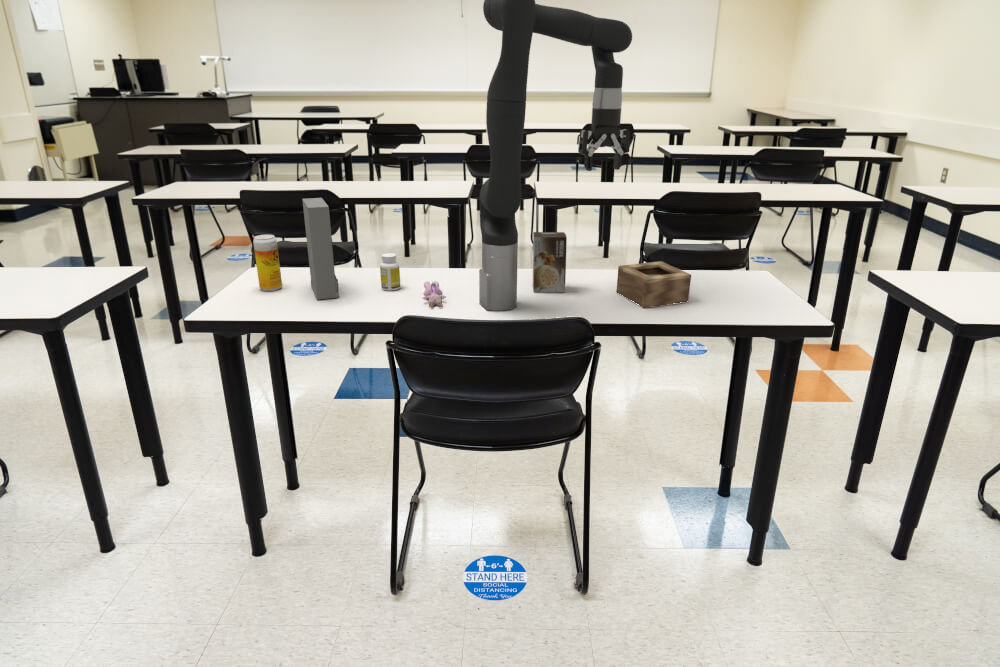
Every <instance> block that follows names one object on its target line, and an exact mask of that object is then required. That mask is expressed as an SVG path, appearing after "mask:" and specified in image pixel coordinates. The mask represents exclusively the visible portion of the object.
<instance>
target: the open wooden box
mask: <svg viewBox="0 0 1000 667" xmlns="http://www.w3.org/2000/svg"><path fill="white" fill-rule="evenodd" d="M617 269H618V270H617V279H616V292H617V293H616V294H618V293H619V294H618V295H620V294H621V295H620V296H622V295H623V296H624V297H623V296H622V297H623V298H625V297H626V298H625V299H627V298H628V299H630V300H632V301H634V302H635V303H637V304H639V305H640V306H642V307H650V308H652V307H651V306H657V307H661V306H660V305H665V306H668V305H667V304H672V305H674V304H673V303H680V302H687V301H688V302H689V297H690V291H691V290H690V289H691V281H692V274H690V273H688V272H686V271H684V270H682V269H680V268H678V267H675V266H672V265H670V264H668V263H666V262H664V261H662V260H661V261H652V262H651V261H650V262H641V263H631V264H623V265H618V267H617ZM650 274H660V275H657V276H647V275H650ZM628 299H627V300H628ZM630 300H629V301H630ZM632 301H631V302H632ZM634 302H633V303H634ZM688 302H687V303H688ZM635 303H634V304H635ZM637 304H636V305H637ZM680 304H681V303H680ZM639 305H638V306H639ZM640 306H639V307H640ZM642 307H641V308H642Z"/></svg>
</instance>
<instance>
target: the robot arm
mask: <svg viewBox="0 0 1000 667" xmlns="http://www.w3.org/2000/svg"><path fill="white" fill-rule="evenodd" d="M482 10H483V15H484V19H485V22H487V24H488V25H489V26H490V27H492V28H493V29H494V30H497V31H500V32H502V34H501V35H502V36H501V49H500V55H499V60H498V63H497V64H496V68H495V70H494V72H493V75H492V77H491V80H490V82H489V85H488V89H487V94H486V96H487V97H486V111H485V112H486V113H485V115H486V118H485V120H486V121H485V122H486V132H487V139H488V146H489V153H490V168H489V176H488V177H489V178H488V179H486V180H485V181H484V183H483V184H482V185H481V188H480V190H479V226H480V232H481V233H480V234H481V268H479V270H478V272H479V277H478V278H479V280H478V281H479V284H478V285H479V289H478V290H479V292H478V293H479V300H478V301H479V302H478V303H479V304H480V305H481V306H482V307H483V309H485V310H486V311H509V310H512V309H514V308H515V309H516V307H517V306H518V305H517V302H518V297H517V296H518V251H519V250H518V248H519V247H518V245H519V244H518V243H519V231H518V228H517V224H516V213H517V212H518V210H519V209H520V207H521V203H522V181H521V180H522V179H521V178H522V176H521V175H522V173H521V163H522V162H521V159H522V158H521V157H522V150H523V143H524V142H523V141H524V131H525V122H526V110H527V109H526V108H527V89H528V86H527V85H528V75H529V64H530V63H529V62H530V54H531V53H530V52H531V46H532V40H533V34H537V35H542V36H547V37H550V38H553V39H557V40H560V41H564V42H567V43H570V44H574V45H579V46H583V47H591V53H592V60H593V65H594V69H595V73H594V74H595V75H594V76H595V77H594V90H593V94H592V96H593V97H592V103H591V104H592V108H591V110H592V111H591V129H590V130H585V129H581V130H580V132H579V139H578V140H579V141H578V150H577V151H578V153H579V154H580V155H583V156H584V164H583V165H584V166H583V167H584V169H585V170H586V171H588V172H592V171H593V170H592V169H593V159H594V158H593V155H594V153H595V152H596V151H597V150H598V149H599V148H606V147H608V148H611V149H612V150H613V152H614V155H613V169H614V170H616V171H618V170H621V169H620V168H621V167H622V165H623V164H622V162H623V160H622V159H623V155H624V154H626V153H627V154H628V153H629V152H630V139H631V131H630V129H626V128H623V129H620V125H621V121H622V120H621V117H622V105H623V104H622V103H623V78H624V68H623V65H622V64H619V63H617V62H616V61H615V57H614V56H615V55H614V54H615V53H616V54H617V53H618V54H619V53H622V52H624V51H626V50H627V49H628V48H629V47H630V45H631V44H632V42H633V41H632V40H633V32H632V29H631V28H630V26H629V25H628V24H627V23H626V22H624V21H621V20H617V19H613V18H604V17H597V16H594V15H592V14H588V13H585V12H582V11H578V10H575V9H569V8H564V7H557V6H549V5H544V4H543V5H542V4H539V3H536V0H483V6H482ZM619 137H620V142H619V141H618V139H619ZM590 138H591V140H590ZM588 140H590V142H589V143H588Z"/></svg>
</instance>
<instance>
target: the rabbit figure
mask: <svg viewBox="0 0 1000 667" xmlns="http://www.w3.org/2000/svg"><path fill="white" fill-rule="evenodd" d="M423 288H425V290H424V291H423V296H422V299H423V300H426V299H428V301H427V302H428V306H430V307H429V308H430V309H431V310H432V308H433V309H435V308H434V307H435V306H437V307H438V308H443V305H442V304H443V300H442V298H444V299H446V298H447V297H446V295H443V291H442V289H441V288H440V283H439V282H438V280H434V281H432V282H430V281H428V280H427V281H424V283H423Z"/></svg>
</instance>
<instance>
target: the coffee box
mask: <svg viewBox="0 0 1000 667" xmlns="http://www.w3.org/2000/svg"><path fill="white" fill-rule="evenodd" d="M532 235H533V239H532V244H533V246H532V292H533V293H557V294H558V293H559V294H561V293H562V294H563V293H566V277H567V276H566V273H567V243H568V242H567V240H568V238H567V234H566V233H565V232H563V231H562V232H559V231H546V232H545V231H533V233H532Z"/></svg>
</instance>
